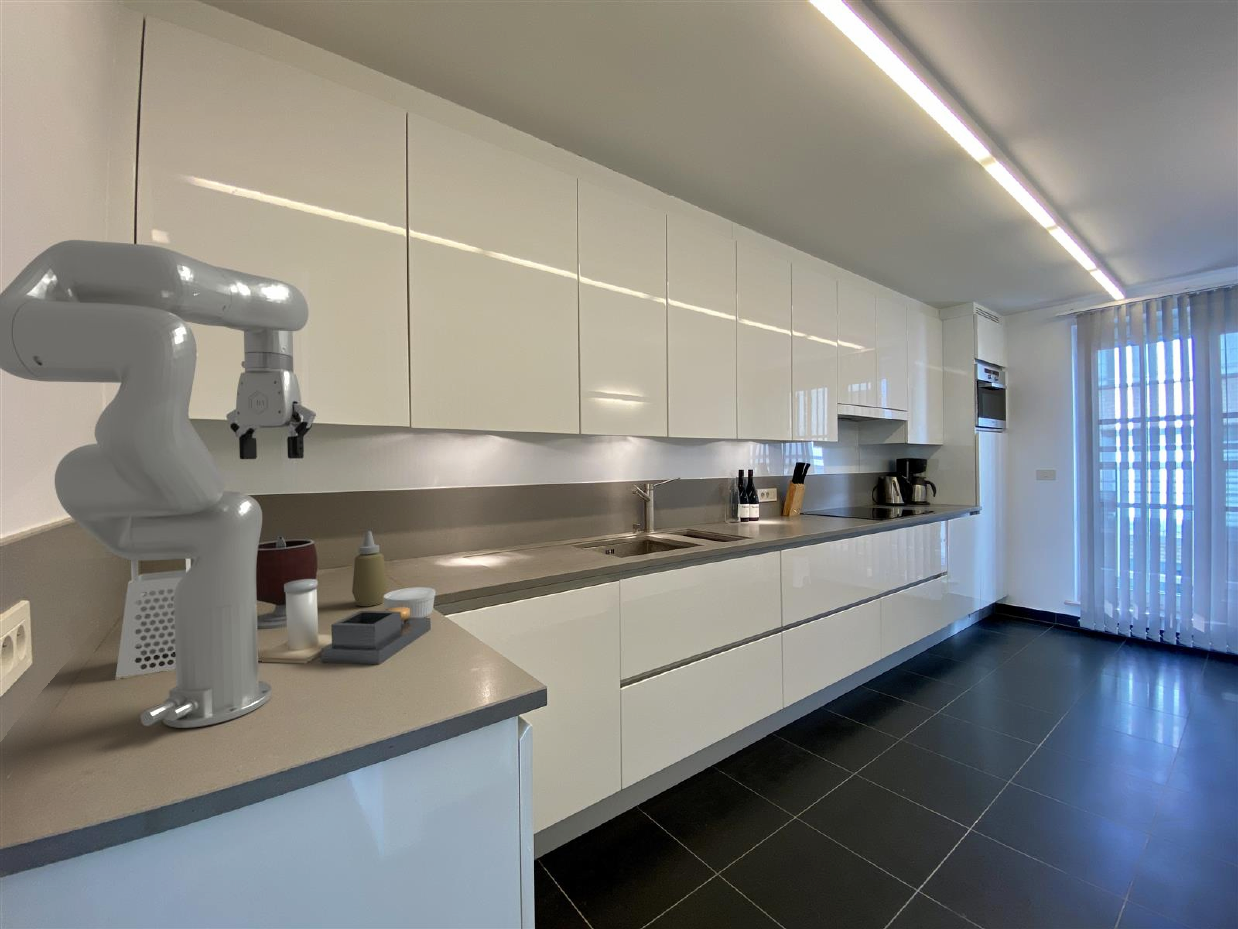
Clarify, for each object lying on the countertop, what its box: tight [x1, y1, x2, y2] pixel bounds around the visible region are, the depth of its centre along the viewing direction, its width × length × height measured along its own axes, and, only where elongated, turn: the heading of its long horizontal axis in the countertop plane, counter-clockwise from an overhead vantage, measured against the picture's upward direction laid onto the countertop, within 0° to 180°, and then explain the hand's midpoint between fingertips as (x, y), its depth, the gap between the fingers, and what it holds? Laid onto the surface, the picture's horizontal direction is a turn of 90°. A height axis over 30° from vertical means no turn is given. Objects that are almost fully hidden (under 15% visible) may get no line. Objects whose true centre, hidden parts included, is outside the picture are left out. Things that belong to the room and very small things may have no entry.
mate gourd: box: [256, 535, 318, 630], centre depth 116 cm, size 16×14×20 cm
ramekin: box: [383, 586, 437, 618], centre depth 119 cm, size 11×11×5 cm
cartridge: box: [284, 579, 319, 651], centre depth 98 cm, size 5×5×12 cm
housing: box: [320, 610, 431, 665], centre depth 100 cm, size 18×11×6 cm, turn 173°
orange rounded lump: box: [385, 607, 410, 625], centre depth 106 cm, size 5×5×4 cm
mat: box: [258, 633, 332, 664], centre depth 98 cm, size 12×10×1 cm
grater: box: [115, 559, 192, 678], centre depth 93 cm, size 10×10×20 cm
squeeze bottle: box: [351, 530, 388, 607], centre depth 129 cm, size 8×8×18 cm
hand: (271, 458), depth 96 cm, fingers open, 9 cm apart
